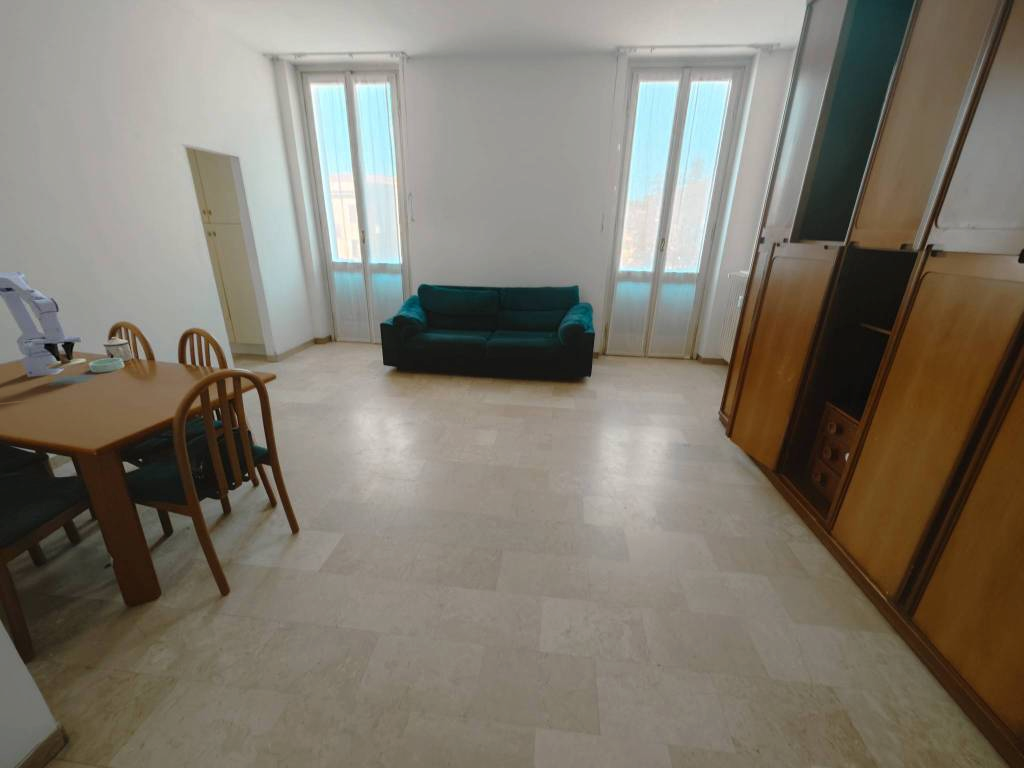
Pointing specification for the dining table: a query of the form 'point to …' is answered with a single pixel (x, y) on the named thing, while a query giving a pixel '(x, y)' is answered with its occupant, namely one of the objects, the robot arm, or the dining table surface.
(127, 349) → the teacup with lid
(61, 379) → the mat
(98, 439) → the dining table surface
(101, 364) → the bowl
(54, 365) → the lid
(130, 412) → the dining table surface
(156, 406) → the dining table surface
